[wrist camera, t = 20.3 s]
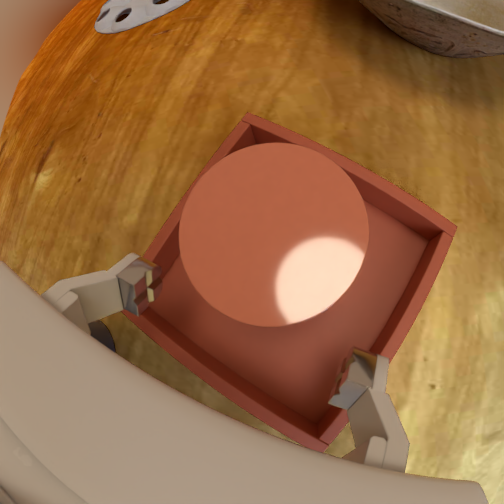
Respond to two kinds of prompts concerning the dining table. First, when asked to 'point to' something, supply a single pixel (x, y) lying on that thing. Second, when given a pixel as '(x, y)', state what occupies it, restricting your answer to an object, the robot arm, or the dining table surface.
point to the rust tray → (311, 331)
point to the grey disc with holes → (141, 8)
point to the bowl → (445, 24)
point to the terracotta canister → (273, 234)
